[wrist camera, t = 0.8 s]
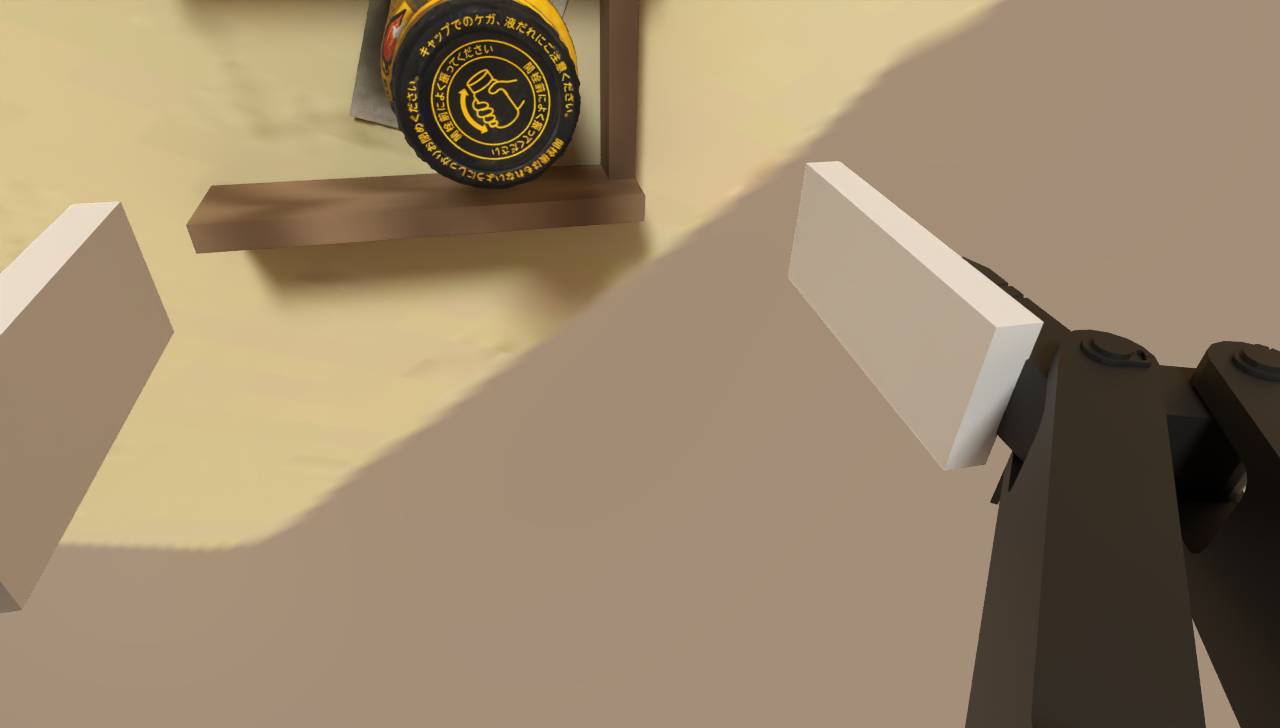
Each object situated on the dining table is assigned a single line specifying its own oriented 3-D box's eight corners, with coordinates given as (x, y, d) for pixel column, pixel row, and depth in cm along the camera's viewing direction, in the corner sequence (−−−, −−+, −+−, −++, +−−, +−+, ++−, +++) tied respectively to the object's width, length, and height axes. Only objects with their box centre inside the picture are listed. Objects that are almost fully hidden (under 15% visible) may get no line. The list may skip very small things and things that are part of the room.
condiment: (577, -34, 29) (646, 25, 20) (517, 162, 33) (552, 289, 24) (389, -112, 26) (365, -88, 17) (349, 112, 30) (312, 234, 21)
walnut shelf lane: (220, 212, 31) (196, 253, 28) (93, -171, 24) (41, -174, 20) (625, 187, 35) (644, 221, 32) (630, -153, 27) (656, -153, 24)
